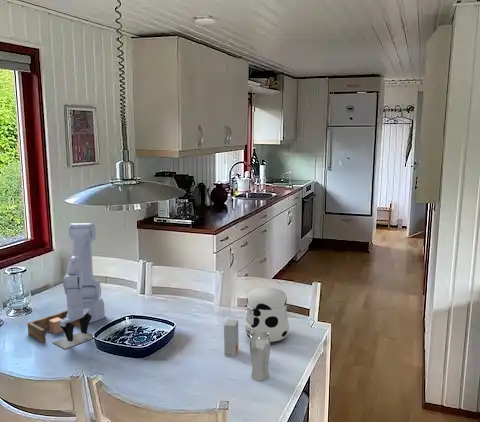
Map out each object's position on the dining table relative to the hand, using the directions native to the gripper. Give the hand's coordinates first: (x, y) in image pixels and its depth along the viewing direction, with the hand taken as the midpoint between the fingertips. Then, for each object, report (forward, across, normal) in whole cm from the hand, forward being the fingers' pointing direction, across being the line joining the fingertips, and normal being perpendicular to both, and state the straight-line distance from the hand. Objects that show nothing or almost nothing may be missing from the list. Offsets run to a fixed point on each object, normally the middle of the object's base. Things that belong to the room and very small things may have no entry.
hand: (77, 336), depth 193 cm
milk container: (+2, -34, +67) cm, 75 cm away
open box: (+2, -3, -9) cm, 10 cm away
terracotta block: (+2, -4, -16) cm, 16 cm away
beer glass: (+2, -4, +77) cm, 77 cm away
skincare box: (+2, -16, +60) cm, 62 cm away
